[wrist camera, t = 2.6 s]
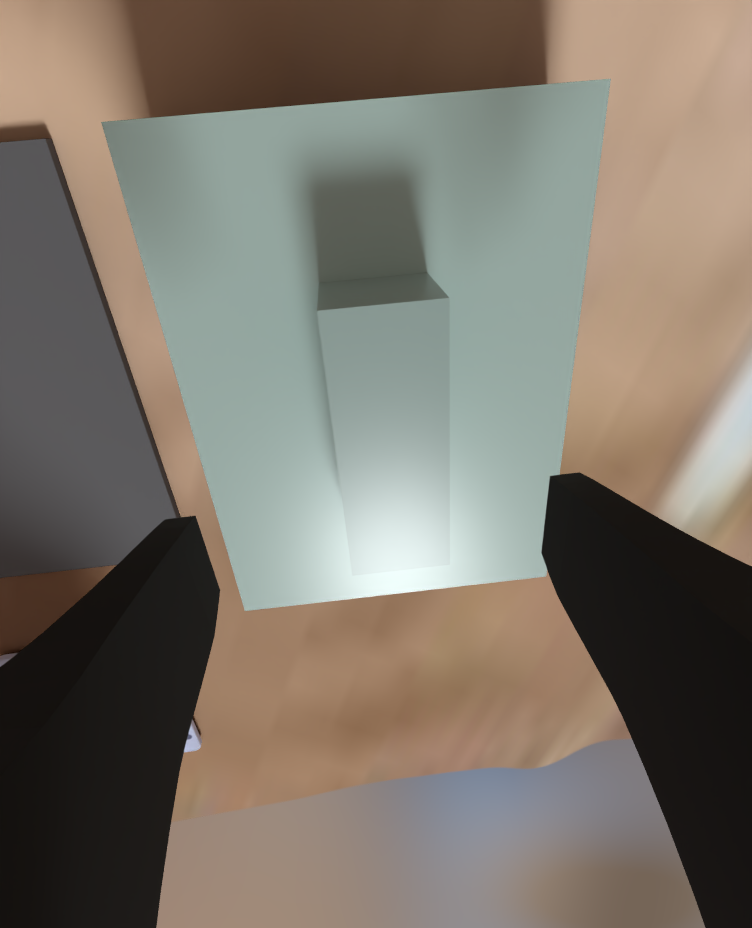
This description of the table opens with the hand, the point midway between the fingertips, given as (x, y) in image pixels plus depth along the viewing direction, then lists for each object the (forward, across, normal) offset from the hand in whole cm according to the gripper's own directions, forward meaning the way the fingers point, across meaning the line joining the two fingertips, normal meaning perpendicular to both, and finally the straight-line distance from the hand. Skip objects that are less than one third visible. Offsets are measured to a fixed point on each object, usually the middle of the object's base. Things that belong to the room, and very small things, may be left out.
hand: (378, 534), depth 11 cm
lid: (+8, -1, 0) cm, 8 cm away
